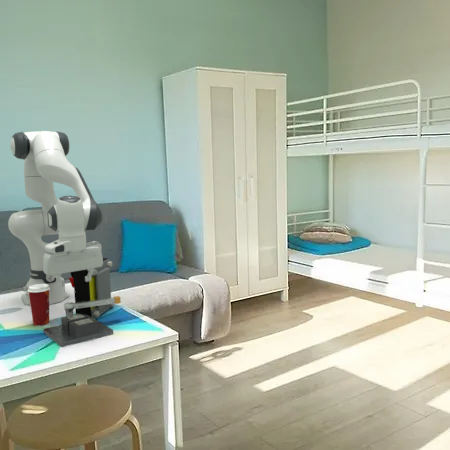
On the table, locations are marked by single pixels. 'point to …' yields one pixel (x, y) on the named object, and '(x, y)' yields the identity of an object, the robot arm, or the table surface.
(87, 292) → the electrical component
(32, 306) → the paper cup
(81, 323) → the tray
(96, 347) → the table surface
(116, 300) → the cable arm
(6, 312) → the table surface
